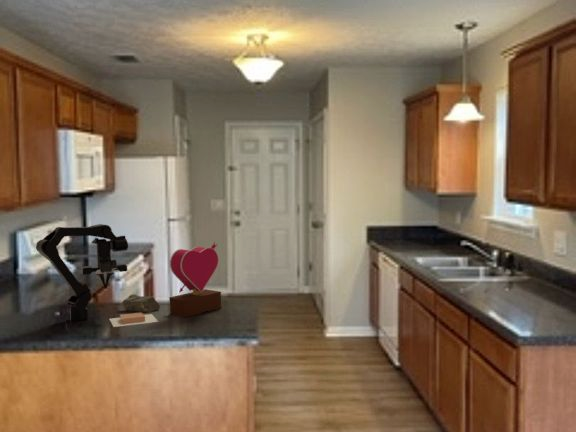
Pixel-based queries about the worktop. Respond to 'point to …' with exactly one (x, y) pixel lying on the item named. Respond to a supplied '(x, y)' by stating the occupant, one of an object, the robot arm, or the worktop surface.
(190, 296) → the heart arrow ornament
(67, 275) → the robot arm
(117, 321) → the beige mat
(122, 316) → the terracotta tile
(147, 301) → the rock
